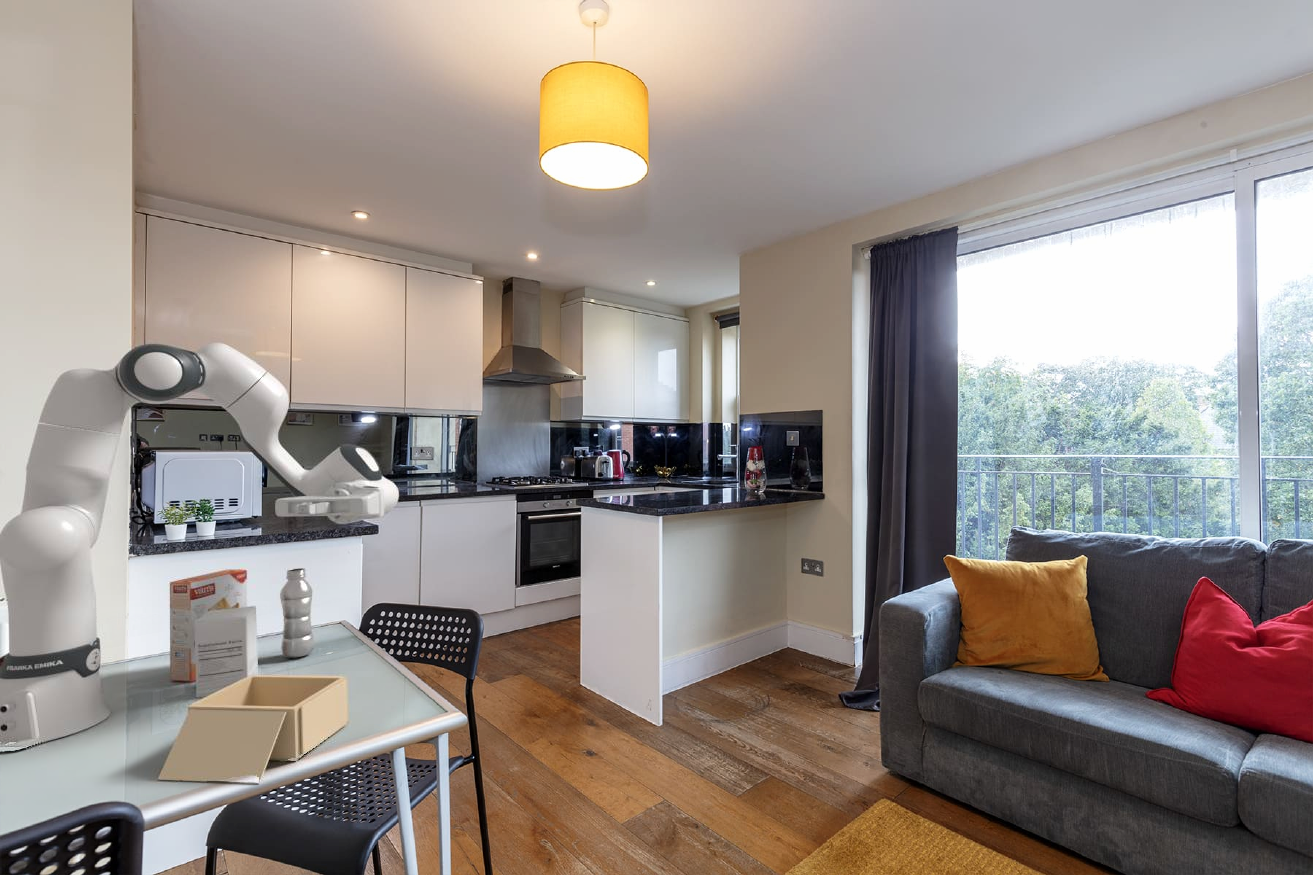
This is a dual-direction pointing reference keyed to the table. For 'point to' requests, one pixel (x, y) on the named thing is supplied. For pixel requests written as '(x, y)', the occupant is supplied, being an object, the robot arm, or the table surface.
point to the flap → (222, 745)
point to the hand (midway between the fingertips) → (302, 509)
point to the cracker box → (199, 613)
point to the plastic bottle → (297, 615)
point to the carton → (289, 707)
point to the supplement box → (225, 648)
